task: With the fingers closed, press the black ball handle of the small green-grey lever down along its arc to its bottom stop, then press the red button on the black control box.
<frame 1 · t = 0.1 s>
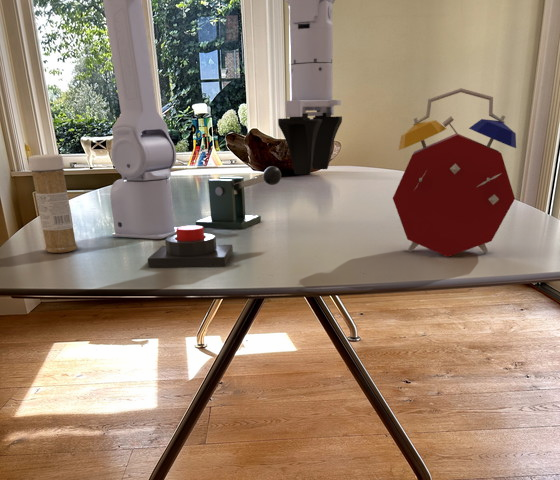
hand: (311, 171, 85), 10 cm above the table, tool pointing down, fingers open, 7 cm apart
alarm clock: (447, 255, 79), on the table
lever: (249, 182, 102), point 7 cm above the table, hinge at 15.0°
button: (190, 234, 79), point 3 cm above the table, slide at 0.1 cm
sprinkles bottle: (61, 251, 89), on the table
bracket: (228, 224, 106), on the table
button box: (192, 260, 81), on the table
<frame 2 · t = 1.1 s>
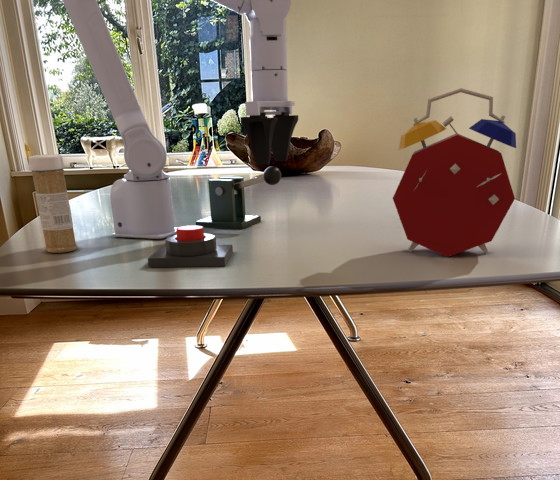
hand: (271, 162, 99), 10 cm above the table, tool pointing down, fingers open, 7 cm apart
nothing on the table moved.
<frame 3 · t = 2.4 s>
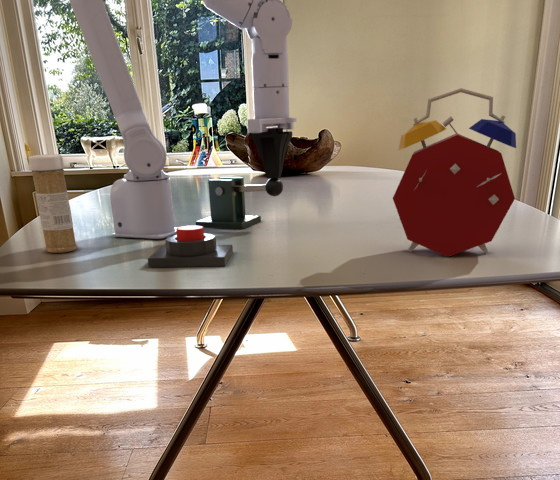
hand: (273, 177, 100), 8 cm above the table, tool pointing down, fingers closed, pressing on lever
lever: (250, 188, 102), point 6 cm above the table, hinge at 3.2°, touching gripper
everything else where it was.
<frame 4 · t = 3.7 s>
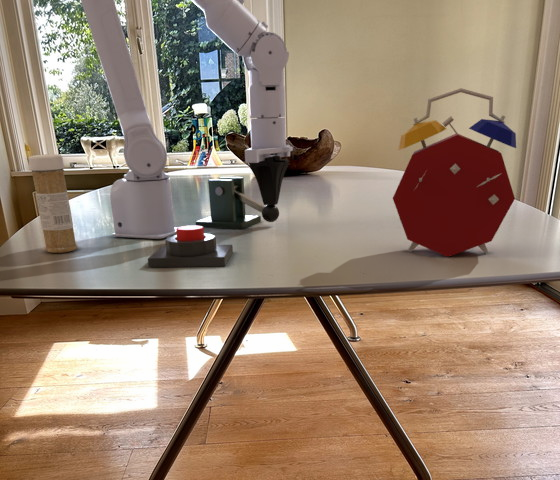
hand: (270, 204, 102), 4 cm above the table, tool pointing down, fingers closed, pressing on lever
lever: (248, 201, 103), point 4 cm above the table, hinge at -25.3°, touching gripper
everything else where it was.
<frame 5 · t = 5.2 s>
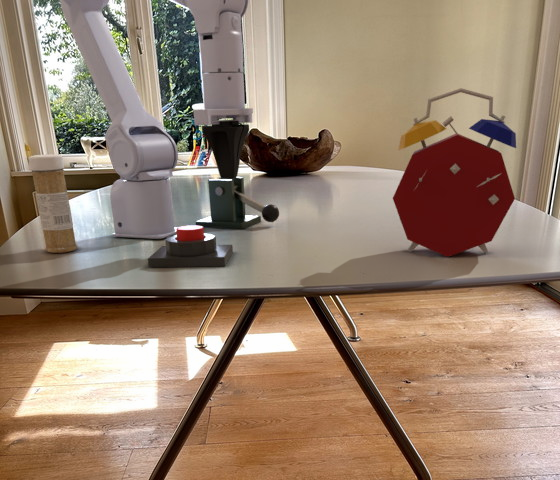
hand: (228, 178, 87), 9 cm above the table, tool pointing down, fingers closed
lever: (248, 201, 103), point 4 cm above the table, hinge at -25.3°
everything else where it was.
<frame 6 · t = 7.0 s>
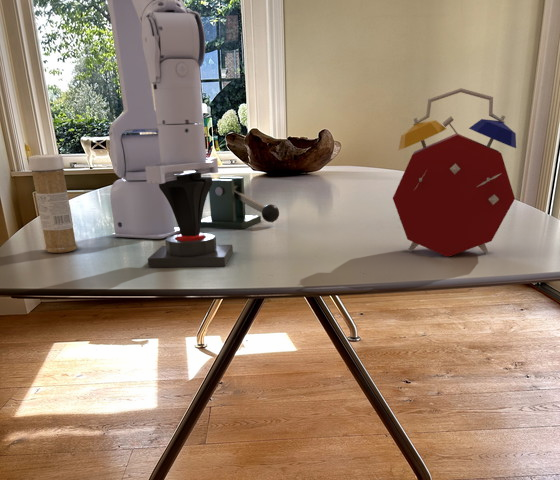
hand: (190, 235, 79), 3 cm above the table, tool pointing down, fingers closed, pressing on button
button: (190, 241, 80), point 3 cm above the table, slide at -0.9 cm, touching gripper
everything else where it was.
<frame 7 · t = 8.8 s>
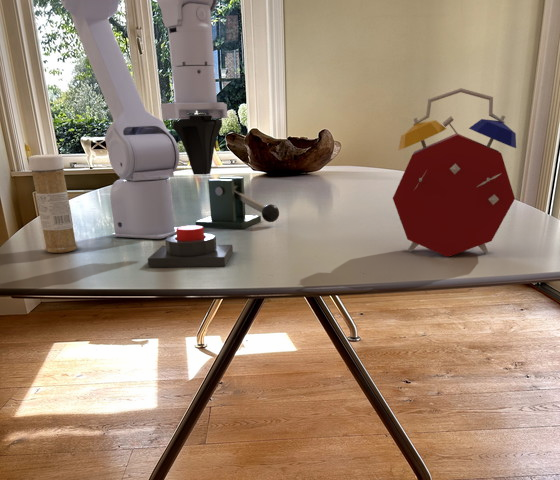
hand: (201, 174, 85), 10 cm above the table, tool pointing down, fingers closed
button: (190, 234, 79), point 3 cm above the table, slide at 0.1 cm
everything else where it was.
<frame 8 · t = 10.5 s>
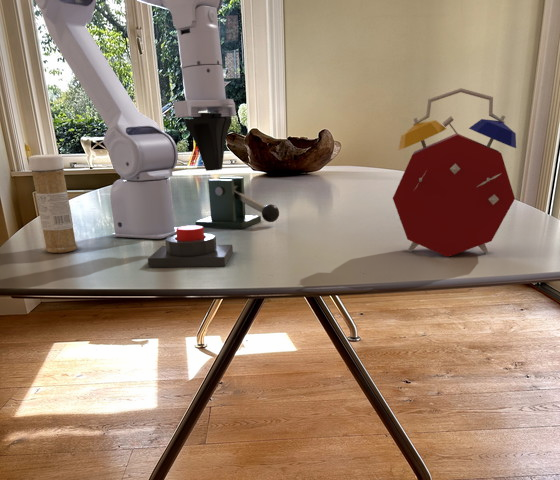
hand: (214, 170, 88), 10 cm above the table, tool pointing down, fingers closed
nothing on the table moved.
at the end: lever at -25° (first picture: +15°); button pushed in 1.2 cm at the most during the clip, back to where it started at the end; button slide at 0.1 cm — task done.
